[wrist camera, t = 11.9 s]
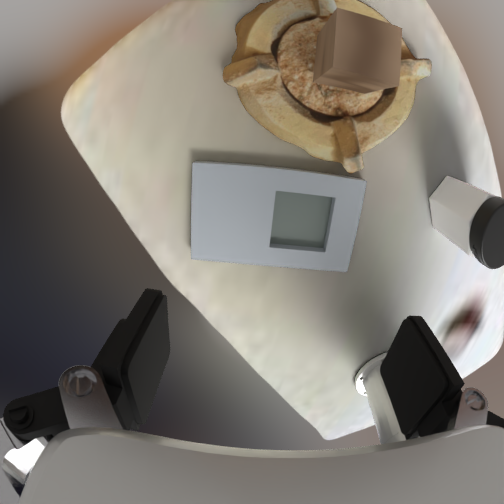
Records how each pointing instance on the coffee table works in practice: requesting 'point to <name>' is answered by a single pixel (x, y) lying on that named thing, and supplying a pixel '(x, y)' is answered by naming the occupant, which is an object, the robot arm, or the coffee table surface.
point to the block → (358, 53)
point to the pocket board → (274, 216)
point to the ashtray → (314, 94)
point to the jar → (470, 220)
